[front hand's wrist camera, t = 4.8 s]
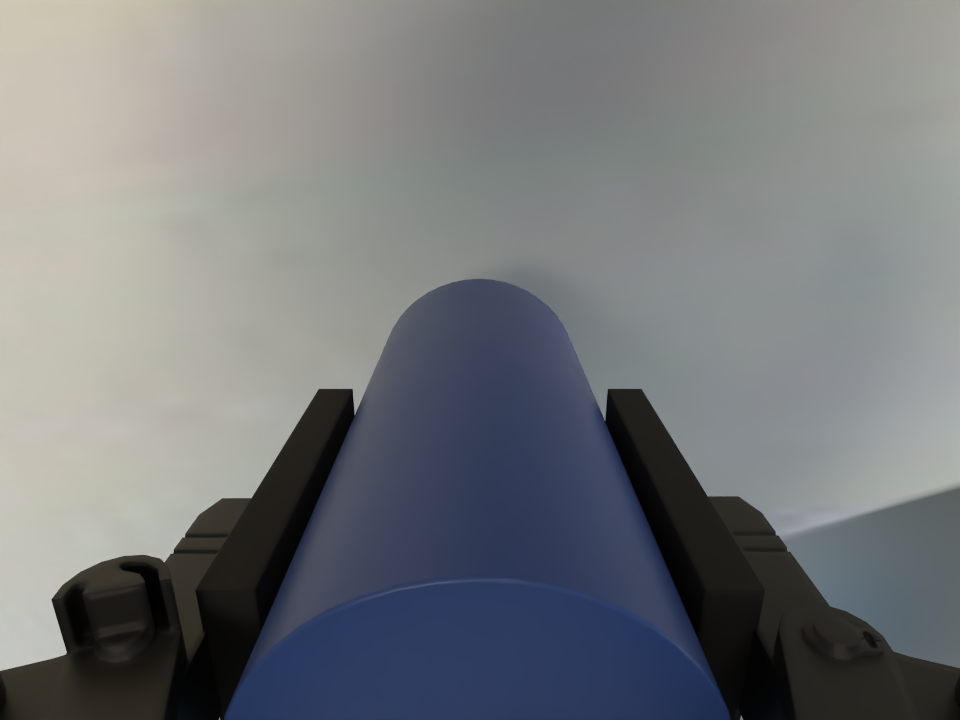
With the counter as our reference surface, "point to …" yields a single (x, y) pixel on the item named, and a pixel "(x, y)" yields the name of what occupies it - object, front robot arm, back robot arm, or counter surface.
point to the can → (478, 545)
